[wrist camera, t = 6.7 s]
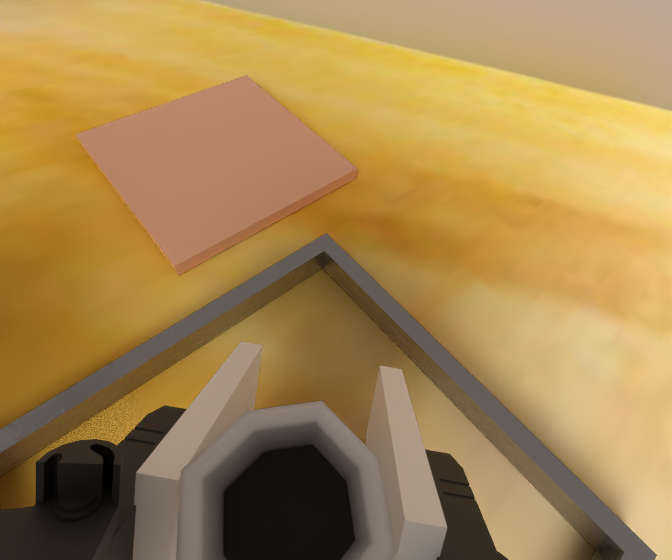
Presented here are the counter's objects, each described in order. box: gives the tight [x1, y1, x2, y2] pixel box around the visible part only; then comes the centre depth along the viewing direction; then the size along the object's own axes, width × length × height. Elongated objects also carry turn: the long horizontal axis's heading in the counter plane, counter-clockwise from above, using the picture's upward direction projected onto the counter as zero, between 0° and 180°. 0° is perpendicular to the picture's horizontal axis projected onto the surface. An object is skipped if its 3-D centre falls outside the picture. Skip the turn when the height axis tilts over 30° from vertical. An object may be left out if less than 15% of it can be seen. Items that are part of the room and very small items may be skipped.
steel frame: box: [0, 233, 657, 560], centre depth 13 cm, size 18×18×2 cm
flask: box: [176, 401, 396, 560], centre depth 10 cm, size 7×7×10 cm
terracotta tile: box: [75, 75, 357, 275], centre depth 24 cm, size 12×12×1 cm
